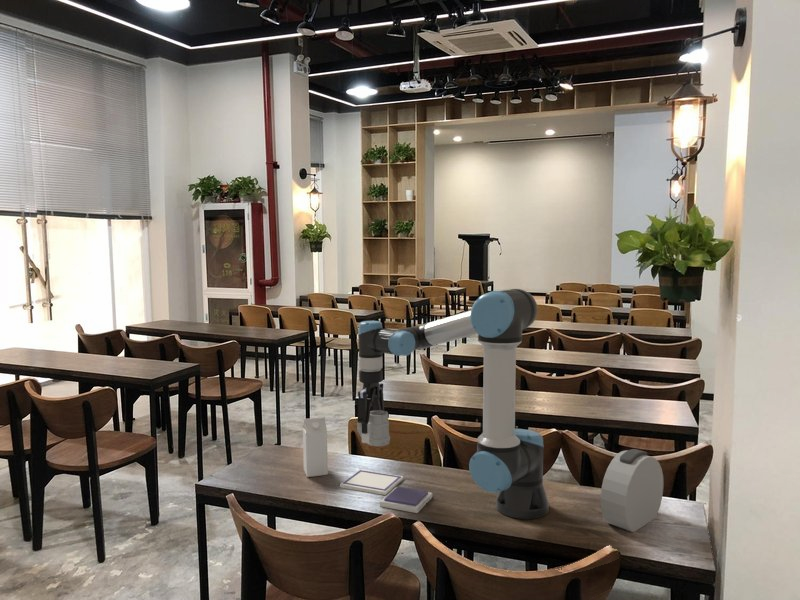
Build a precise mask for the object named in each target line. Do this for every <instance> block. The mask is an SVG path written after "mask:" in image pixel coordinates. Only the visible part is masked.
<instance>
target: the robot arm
mask: <svg viewBox="0 0 800 600" xmlns="http://www.w3.org/2000/svg"><path fill="white" fill-rule="evenodd" d="M538 310H539V309H538V303H537V301H536V299H535V298H534V296H533V295H532V294H531V293H530V292H528V291H526V290H524V289H520V288H512V289H503V290H492V291H489V292H487V293H486V292H485V293H484V294H482V295H480V296H479V297H478V298H477V299H476V300H475V301H474V303H473V304H472V307H471V309H470V310H467V311H464V312H461V313H457V314H454V315H451V316H447V317H444V318H440V319H437V320H433V321H430V322H426V323H422V324H419V325H415V326H410V327H404V328H398V329H387V328H383V323H382V322H381V321H379V320H363V321H360V322H359V324H358V333H357V336H358V337H357V338H358V369H359V371H358V381H359V382H360V383H362V385H363V386H362V390H358V392H357V397H358V399H357V400H358V403H357V404H358V405H357V406H358V407H357V419H356V420H357V421H356V423H357V422H358V423H361V432H362V437H361V443H362V444H368V445H369V444H370V423H368V422H369V416H370V412H371V411H375V410H382V411H385V401H384V399H385V398H384V383H382V382H383V379H384V378H383V372H384V371H383V365H384V363H383V354H388V355H394V356H398V357H400V356H409V355H411V353H412V352H414V351H417V350H422V349H427V348H431V347H434V346H437V345H441V344H445V343H448V342H453V341H457V340H460V339H465V338H468V337H472V336H476V335H477V336H478V337H477V342H478V343H479V344H481V346H482V348H483V377H482V378H483V386H482V388H483V389H482V390H483V392H482V394H483V395H482V398H483V400H482V432H481V434H480V435H479V436H478V437H477V439H476V452H475V453H474V454H473V455H472V456H471V458H470V459H469V463H468V466H469V467H468V468H469V469H468V470H469V474H470V476H471V479H472V480H473V481H474V482H475V484H476V485H477V486H478V488H480V489H482V490H483V491H485V492H487V493H492V494H496V493H497V495H496V497H495V508H496V510H497V511H498V512H500V514H503V515H504V516H507V517H510V518H515V519H521V520H531V519H532V520H534V519H539V518H542V517H545V516H546V515H547V514H548V513H549V506H550V505H549V500H548V496H547V493H546V490H545V487H544V483H543V482H544V481H543V480H544V479H543V476H544V472H543V471H544V468H543V467H544V447H545V445H544V437H543V436H542V434H541V433H539V432H537V431H534V430H530V429H523V428H515V427H516V379H517V378H516V372H517V371H516V369H517V365H516V364H517V347H518V346H519V345H520V344H521V343H522V342H523V330H525V329H527V328H529V327H530V326H531V325H533V323H534V322H535V321H536V318H537V316H538Z"/></svg>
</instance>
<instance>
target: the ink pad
mask: <svg viewBox="0 0 800 600" xmlns="http://www.w3.org/2000/svg"><path fill="white" fill-rule="evenodd" d="M432 498H433V492H430V491H427V490H421V489H415V488H408V487H403V486H395V487H394V488H393V489H392V490H391V491H389V492H388V493H387V494H386V495H384V497H383V498H382V499H381V500H380V501H379V507H382V508H387V509H392V510H396V511H397V510H398V511H403V512H409V513H414V514H418V513H419V512H420V511H421V510H422V509H423V508H424V507H425V506H426V505H427V504H426V503H428V502H430V500H432Z"/></svg>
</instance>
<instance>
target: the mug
mask: <svg viewBox="0 0 800 600" xmlns="http://www.w3.org/2000/svg"><path fill="white" fill-rule="evenodd" d="M368 423H370V444H368V446H371V447H373V446H374V447H384V446H388V445H389V444H390V440H391V435H390V427H389V426H390V420H389V412H388V411H386V410H384V411H382V410H375V411H373V410H370V416H369V422H368ZM356 427H357V428H356V429H357V433H358V435H359V436H360V437H361V438H362V432H361V423H358V422H357V421H356Z"/></svg>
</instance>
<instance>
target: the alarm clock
mask: <svg viewBox="0 0 800 600" xmlns="http://www.w3.org/2000/svg"><path fill="white" fill-rule="evenodd" d="M600 491H601V492H600V509H601V513H602V516H603V518H604V520H605V522H606V523H607V524H609V525H612V526H615V527H618V528H620V529H623V530H626V531H628V532H631V533H635V532H636V531H637V530H638V531H639V529H640V528H643V526H646V525H647V524H648V523H650V522H652V521H653V520H655V519H656V518H657V516H658V513H659V511H660V508H661V504H662V500H663V493H664V474H663V469H662V466H661V464H660V462H659V461H658V460H657V459H656V457H653V456H650V455H648V452H647V451H644V450H640V449H637V448H636V449H635V448H631V449H627V450H626V449H625V450H622V451H620V452H618V453H617V454H615V456H614V457H613V458H612V460H611V461H610V463H609V465H608V467H607V468H606V470H605V474H604V477H603V479H602V485H601V490H600Z"/></svg>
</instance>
